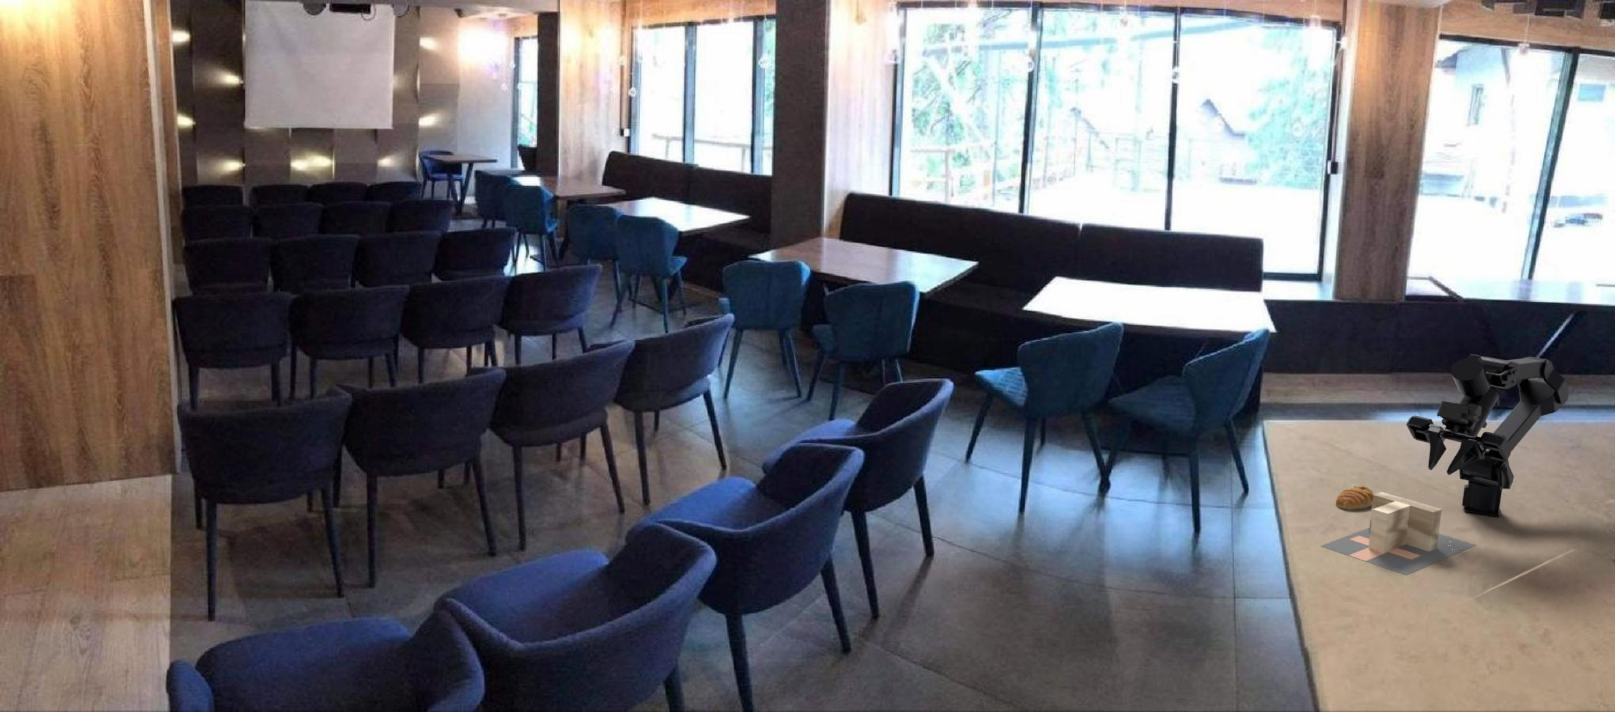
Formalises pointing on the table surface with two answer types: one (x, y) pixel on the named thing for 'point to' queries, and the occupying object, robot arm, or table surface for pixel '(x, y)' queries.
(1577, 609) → the table surface
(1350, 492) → the pastry
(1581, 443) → the table surface
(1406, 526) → the t block
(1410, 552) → the mat
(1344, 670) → the table surface
